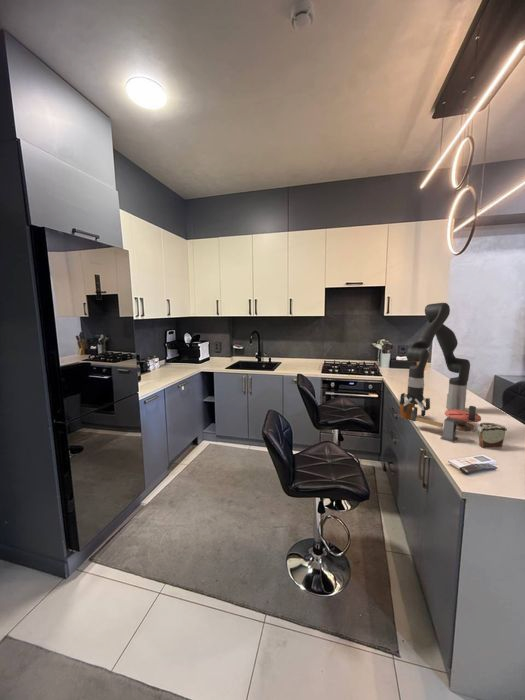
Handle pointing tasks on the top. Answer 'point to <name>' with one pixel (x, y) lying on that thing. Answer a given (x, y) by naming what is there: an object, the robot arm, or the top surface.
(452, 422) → the eye block
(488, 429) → the food container
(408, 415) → the disposable coffee cup
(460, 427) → the pedestal
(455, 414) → the handwheel
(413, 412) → the hook
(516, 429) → the top surface
